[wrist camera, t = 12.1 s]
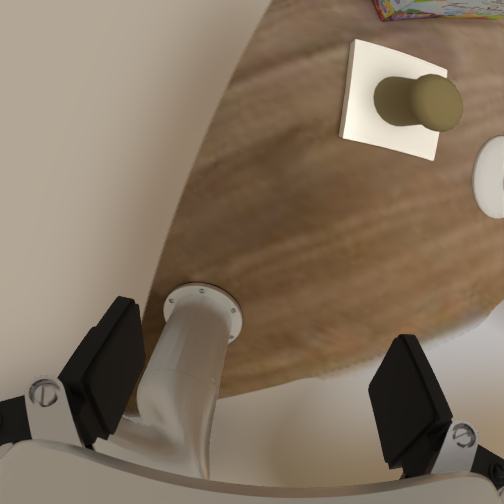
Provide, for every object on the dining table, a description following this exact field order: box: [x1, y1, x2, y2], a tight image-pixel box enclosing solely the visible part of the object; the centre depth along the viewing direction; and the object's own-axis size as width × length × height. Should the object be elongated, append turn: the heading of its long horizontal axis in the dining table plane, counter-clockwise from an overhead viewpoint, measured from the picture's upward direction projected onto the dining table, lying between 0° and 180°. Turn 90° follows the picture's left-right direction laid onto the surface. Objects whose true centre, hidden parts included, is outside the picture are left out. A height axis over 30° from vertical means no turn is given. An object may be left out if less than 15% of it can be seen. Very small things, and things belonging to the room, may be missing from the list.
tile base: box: [339, 39, 447, 161], centre depth 29 cm, size 12×12×2 cm
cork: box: [373, 74, 463, 132], centre depth 23 cm, size 6×6×11 cm
